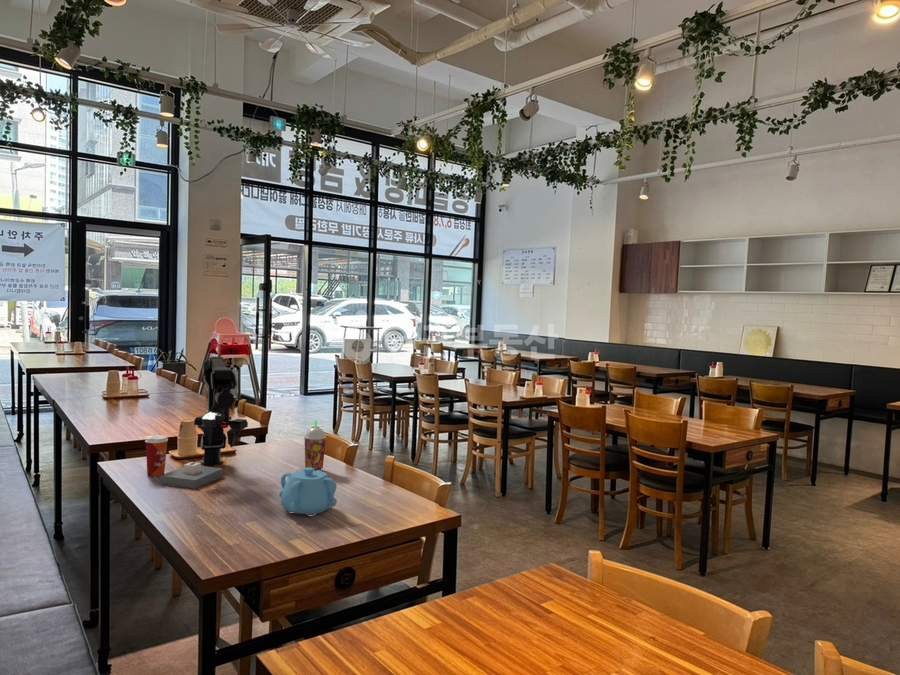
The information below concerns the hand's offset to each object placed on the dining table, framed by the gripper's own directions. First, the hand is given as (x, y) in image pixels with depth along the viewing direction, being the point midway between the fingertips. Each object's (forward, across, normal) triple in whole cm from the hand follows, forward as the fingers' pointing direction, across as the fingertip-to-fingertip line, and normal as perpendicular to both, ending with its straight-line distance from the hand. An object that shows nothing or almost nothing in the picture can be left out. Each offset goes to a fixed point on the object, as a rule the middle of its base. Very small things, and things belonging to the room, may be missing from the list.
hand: (220, 445), depth 221 cm
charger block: (+12, -7, -6) cm, 15 cm away
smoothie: (+12, +27, +22) cm, 37 cm away
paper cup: (+12, -23, -5) cm, 26 cm away
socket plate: (+12, -7, -6) cm, 15 cm away
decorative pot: (+12, +45, -20) cm, 51 cm away
